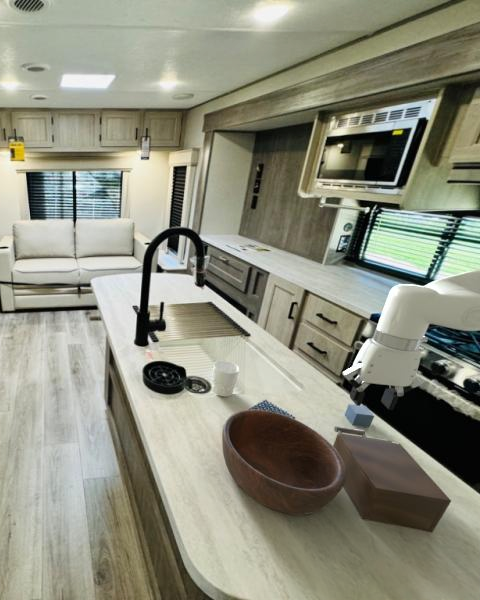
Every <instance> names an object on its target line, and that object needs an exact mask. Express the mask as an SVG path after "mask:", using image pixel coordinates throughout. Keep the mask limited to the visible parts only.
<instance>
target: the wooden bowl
mask: <svg viewBox="0 0 480 600" xmlns="http://www.w3.org/2000/svg"><path fill="white" fill-rule="evenodd" d="M221 442H222V447H221V448H222V454H223V459H224V462H225V465H226V467H227V470H228V472H229V473H230V475H231V477H232V478H233V480H234V482H235V483H236V484H237V485H238V487H239V488H241V489H242V491H243V492H245V493H246V494H247V495H248V497H250V498H252V499H253V500H255V501H256V502H257V503H259V504H261V505H263V506H265V507H267V508H269V509H271V510H274V511H276V512H279V513H283V514H288V515H300V516H301V515H308V514H313V513H316V512H319V511H321V510H322V509H324V508H326V507H327V506H328V505H329V504H330V503H331V502H333V500H334V499H335V498H336V497H337V496H338V495H339V493H340V492H341V490H342V489H343V485H344V483H345V480H346V468H345V464H344V462H343V460H342V458H341V456H340V454H339V453H338V452H337V450H336V449H335V448H334V447H333V444H332V443H331V442H330V441H329V440H327V439H326V438H325V437H324V436H323V435H322V434H321V433H320V432H318V431H317V430H315V429H314V428H312V427H311V426H309V425H307V424H305V423H303V422H302V421H299V420H298V419H296V418H295V419H293V418H291V417H288V416H285V415H282V414H279V413H275V412H271V411H265V410H248V409H245V410H244V409H243V410H240V411H237V412H235V413H233V414H231V415H230V416H228V417H227V419H226V420H225V422H224V424H223V427H222V433H221Z"/></svg>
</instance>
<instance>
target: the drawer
mask: <svg viewBox="0 0 480 600" xmlns="http://www.w3.org/2000/svg"><path fill="white" fill-rule="evenodd" d="M333 431H334V432H336V433H337V434H336V437H335V440H334V442H333V444H332V446H333V447H334V448H335V446H336V443H337V440H338V438H339V435H343V436H350V437H357V438H364V439H371V440H378V441H385V442H392V443H394V441H392V440H389V439H381V438H374V437H368V436H367V434H366V431H365V430H364V429H357V428H351V427H350V428H349V427H342V426H334V427H333Z"/></svg>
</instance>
